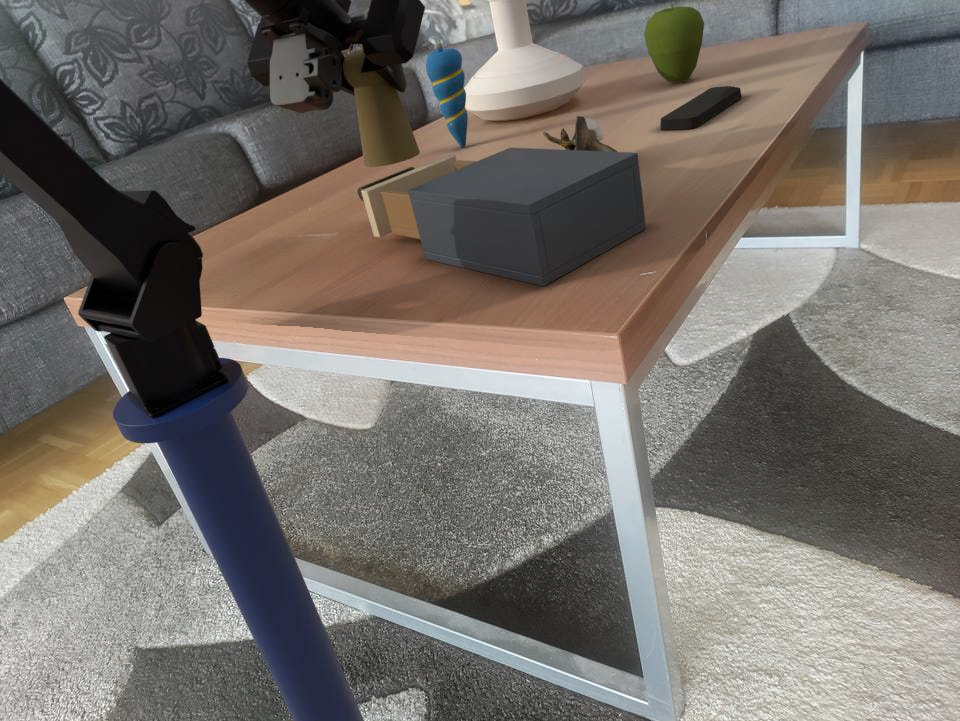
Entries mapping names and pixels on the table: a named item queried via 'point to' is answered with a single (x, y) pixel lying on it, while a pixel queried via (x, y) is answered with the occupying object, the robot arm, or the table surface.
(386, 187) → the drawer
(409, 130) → the cork
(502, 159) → the cabinet
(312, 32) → the robot arm
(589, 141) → the eagle figurine
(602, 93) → the table surface
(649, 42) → the apple
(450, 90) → the ornament
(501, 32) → the candle holder
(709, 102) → the remote control
